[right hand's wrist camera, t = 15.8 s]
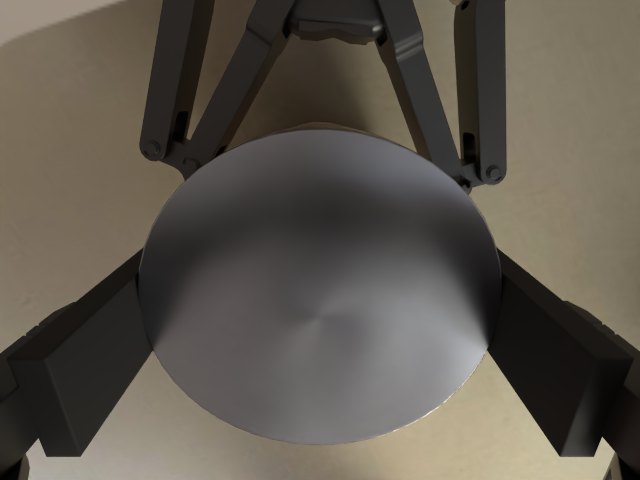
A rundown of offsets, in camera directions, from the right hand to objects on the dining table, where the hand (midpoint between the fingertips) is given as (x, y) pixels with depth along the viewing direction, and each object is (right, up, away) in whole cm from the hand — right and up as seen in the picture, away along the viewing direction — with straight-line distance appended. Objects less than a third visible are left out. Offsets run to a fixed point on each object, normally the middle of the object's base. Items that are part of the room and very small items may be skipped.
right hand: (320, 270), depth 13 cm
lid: (0, -1, -3) cm, 3 cm away
